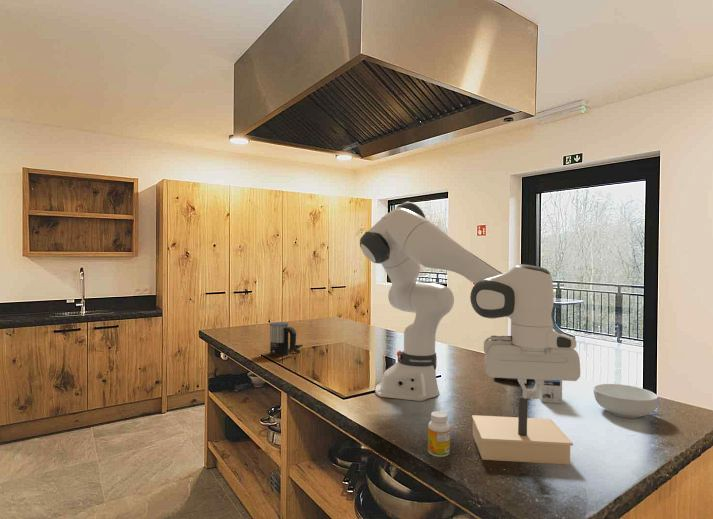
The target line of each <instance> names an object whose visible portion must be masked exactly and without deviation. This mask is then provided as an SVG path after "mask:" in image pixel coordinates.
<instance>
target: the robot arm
mask: <svg viewBox="0 0 713 519" xmlns="http://www.w3.org/2000/svg"><path fill="white" fill-rule="evenodd" d="M360 237H361V238H360V239H359V247H360V249H361V251H362V253H363V255H364V257H365V258H367V259H368V260H369V261H371V262H372V263H374V264H381V266H382V268H383V269H384V271H385V273H386V275H387V276H388V278H389V280H390V282H391V286H390V287H389V288H390V289H389V290H388V302H389V304H390V305H391V307H393V308H394V309H397V310H399V311H402V312H406V313H413V314H415V316H414V317H415V318H414V320H413V322H412V323H411V324H409V325H407V327H406V328H405V329H404V332H403V350H400V349H398V350H397V351H396V356H397V362H396V363H395V364H393V365H392V366H390V367H388V368H387V369H386V370H385V371H384V373H383V375H382V378H381V382H379V383H377V384H376V386H375V394H376V395H377V396H378V397H380V398H381V397H382V398H390V399H400V400H408V401H418V402H422V401H425V400H427V399H431V398H436V397H437V396H439V395H440V390H439V386H438V381H437V371H436V370H437V363H438V362H437V361H438V360H437V357H438V356H437V353H436V338H437V330H438V327H439V324H440V322H441V320H442V319H443V318H444V317H445V316H446V315H448V314H449V313H450V312H451V311H452V309H453V308H454V304H455V297H454V293H453V291H452V289H451V288H450V287H448V286H445V285H443V284H439V283H433V282H422V281H419V279H417V278H418V276H419V275H420V271H421V266H423V267H426V268H429V269H437V270H445V271H449V272H453V273H455V274H457V275H460V276H462V277H464V278H465V279H467V280H469V281H470V282H471V283H473V284H474V285H473V286H472V288H471V292H470V296H469V297H470V298H469V299H470V303H471V307H472V309H473V310H474V312H475V313H476V314H477V315H479V316H480V317H481V318H482V317H483V318H486V319H491V320H492V319H499V318H509V320H510V335H490V337H487V338H486V339H485V340H484V341H483V352H484V354H485V355H484V356H485V357H484V364H483V371H484V373H485V374H486V375H487V376H488V377H489V378H496V379H497V378H498V379H502V378H517V379H518V381H517V382H518V384H519V386H520V388H521V389H522V396H523V397H524V398H528V399H530V400H531V399H532V400H538V399H539V397H538V392H539V391H540V389H541V388H542V386H543V385H544V380H562V382H563V381H569V382H577V381H578V380H579V379H580V377H581V363H580V362H581V361H580V356H579V352H578V351H577V350H575V349H576V347H577V340H576V339H575V338H573V337H572V336H571V335H567V334H565V333H562V332H560V331H557V330H554V321H553V319H552V317H553V316H552V312H553V309H554V303H555V302H554V282H553V278H552V274H551V273H550V271H549V270H547V268H544V267H541V266H537V265H533V264H525V263H522V264H521V263H519V264H516V265H514V266H513V267H512V268H511V269H509V270H507V271H505V272H502V271H499V270H497V269H496V268H495V267H493V266H491V265H490V264H488V262H486V261H484V260H482V259H481V258H480V257H479V256H477V255H475V254H473V252H472V253H471V252H470V251H469V250H467V249H465V247H463V245H461V244H459V242H457V241H455V240H454V239H453V238H452V237H450V236H449V235H448V234H447V233H446V232H445V231H443V230H442V229H441V228H440V227H438V226H437V225H435V224H434V223H432V222H431V221H430V220H428V218H427V217H426V216H425V213H424V212H423V210H422V209H421V208H420V206H418V205H417V204H416V203H414V202H412V201H411V202H410V201H405V202H403V203H400V204H399V205H397V206H396V207H395V209H392V210H391V211H389V212H388V213H386V214H385V215H384V216H382V217H381V219H379V220H378V221H377V222H376V223H374V225H373V226H372V227H371V228H370V229H369V230H368V231H365V232H364V234H363V235H362V236H360ZM527 379H530V380H534V382H535V384H534V386H533V388H527V387H526V385H525V384H527V381H528V380H527Z"/></svg>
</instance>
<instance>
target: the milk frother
mask: <svg viewBox="0 0 713 519" xmlns="http://www.w3.org/2000/svg"><path fill="white" fill-rule="evenodd" d="M289 325H290V323H289V322H283V321H275V322H270V323H269V328H270V329H269V333H270V334H269V339H270V340H269V341H270V344H269V348H270V349H269V355H270V356H274V357H275V356H276V357H281V356H287V355H289V354H290V352H293V351H296V350H298V349H300V348H302V347H303V344H297V331H296V329H295V328H294V327H291V326H289Z"/></svg>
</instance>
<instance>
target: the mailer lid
mask: <svg viewBox="0 0 713 519" xmlns="http://www.w3.org/2000/svg"><path fill="white" fill-rule="evenodd" d="M528 399H529V398H524V397H523V395H519V396H518V414H517V415H518V416H517V417H516V416H515V417H513V416H499V415H498V416H495V415H478V414H477V415H476V414H475V415H473V414H472V415H471V420H472V422H473V421H474V424H475V426H476V428H477V431H478V433H479V436H480V438H481V440H482V441H493V442H512V443H531V444H550V445H569V446H570V447H571V446H572V447H574V446H573V445H574V443H573V442H572V441H571V439H570V438H569V437H568V436H567V435H566V434H565V433H564V432H563V431H562V430H561V428H560V426H558V425H557V424H556V423H555V422H554V420H553V419H552V418H540V417H539V418H538V417H528V404H529V403H528Z"/></svg>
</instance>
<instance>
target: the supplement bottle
mask: <svg viewBox="0 0 713 519" xmlns="http://www.w3.org/2000/svg"><path fill="white" fill-rule="evenodd" d="M430 419H431V420H430V421H429V422H428V426H427V453H428V454H430V455H432V456H435V457H441V458H442V457H447V456H448V455H450V453H451V451H450V450H451V425H450V422H448V419H449V418H448V414H447V412H445V411H440V410H436V411H432V412H431V414H430Z"/></svg>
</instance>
